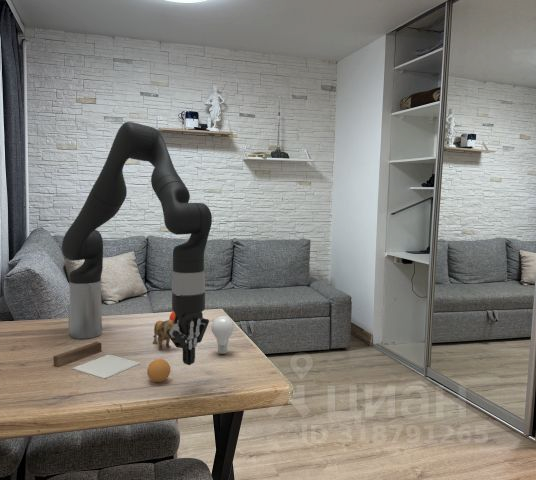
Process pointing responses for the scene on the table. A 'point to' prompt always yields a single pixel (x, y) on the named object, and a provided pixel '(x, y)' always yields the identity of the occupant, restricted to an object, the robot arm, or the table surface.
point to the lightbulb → (222, 332)
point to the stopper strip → (77, 354)
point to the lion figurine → (162, 332)
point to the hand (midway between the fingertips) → (188, 363)
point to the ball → (158, 370)
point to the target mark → (106, 366)
